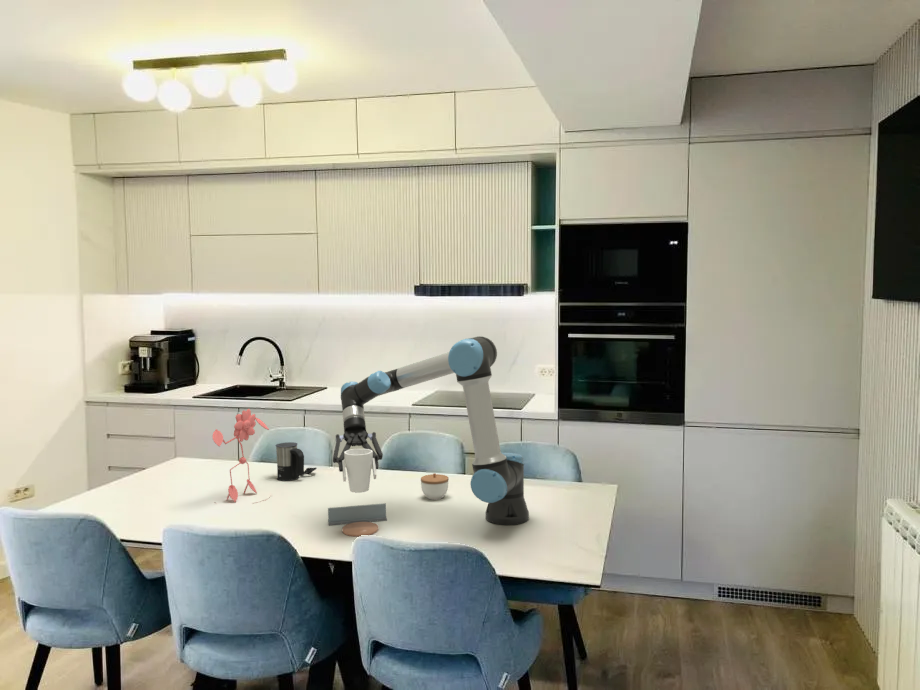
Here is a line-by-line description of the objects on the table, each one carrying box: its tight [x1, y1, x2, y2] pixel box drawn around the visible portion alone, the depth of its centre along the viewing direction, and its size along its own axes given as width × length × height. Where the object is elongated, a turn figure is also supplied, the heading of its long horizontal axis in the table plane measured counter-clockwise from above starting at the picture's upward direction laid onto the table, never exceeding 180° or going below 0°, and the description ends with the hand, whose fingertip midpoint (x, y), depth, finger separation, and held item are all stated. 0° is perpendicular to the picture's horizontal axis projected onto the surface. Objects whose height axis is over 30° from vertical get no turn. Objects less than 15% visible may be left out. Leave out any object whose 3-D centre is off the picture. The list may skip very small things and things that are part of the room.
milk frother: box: [275, 441, 317, 482], centre depth 323 cm, size 14×16×15 cm
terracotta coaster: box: [342, 522, 379, 537], centre depth 253 cm, size 12×12×1 cm
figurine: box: [212, 408, 272, 505], centre depth 290 cm, size 15×26×35 cm, turn 153°
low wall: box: [327, 502, 388, 526], centre depth 263 cm, size 20×4×5 cm, turn 103°
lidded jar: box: [420, 472, 449, 501], centre depth 290 cm, size 11×11×9 cm
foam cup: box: [344, 448, 373, 494], centre depth 251 cm, size 10×9×13 cm
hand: (360, 478), depth 248 cm, fingers closed on foam cup, 9 cm apart
